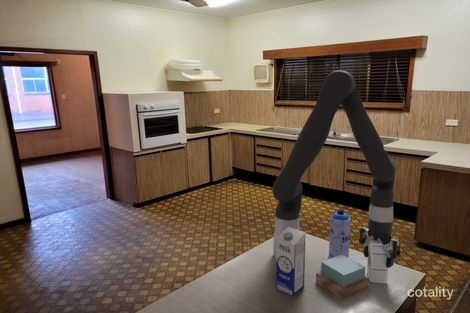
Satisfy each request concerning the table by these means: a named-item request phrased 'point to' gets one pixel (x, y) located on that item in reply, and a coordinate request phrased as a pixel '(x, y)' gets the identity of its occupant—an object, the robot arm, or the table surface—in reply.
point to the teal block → (343, 270)
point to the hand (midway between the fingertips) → (377, 261)
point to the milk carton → (290, 261)
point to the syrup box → (377, 263)
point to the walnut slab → (339, 289)
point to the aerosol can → (339, 234)
